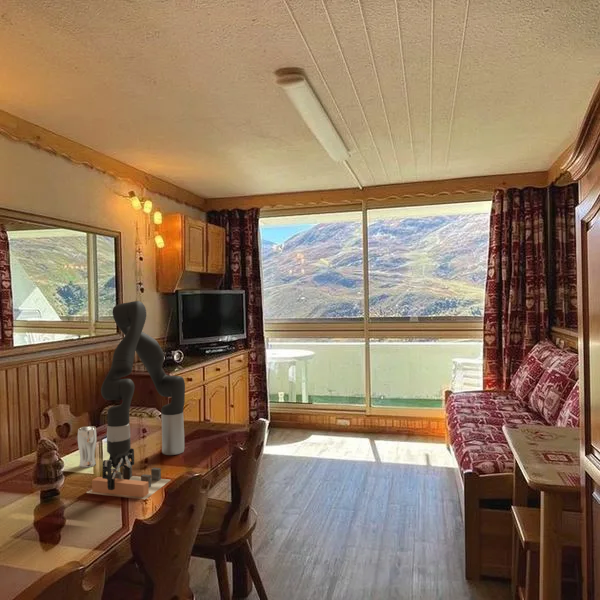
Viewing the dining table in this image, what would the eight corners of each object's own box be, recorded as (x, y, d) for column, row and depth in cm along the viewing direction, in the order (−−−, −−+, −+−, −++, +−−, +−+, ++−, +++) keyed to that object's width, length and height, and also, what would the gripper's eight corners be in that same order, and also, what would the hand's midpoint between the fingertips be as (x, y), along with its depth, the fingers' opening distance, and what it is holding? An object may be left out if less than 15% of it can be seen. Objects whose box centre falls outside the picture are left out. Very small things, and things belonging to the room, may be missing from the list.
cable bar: (97, 488, 165) (97, 476, 165) (148, 493, 160) (148, 481, 160) (92, 491, 162) (91, 480, 162) (143, 497, 157) (143, 485, 157)
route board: (116, 477, 178) (115, 463, 177) (171, 483, 172) (171, 468, 172) (85, 496, 161) (85, 481, 161) (145, 502, 156) (145, 487, 156)
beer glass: (76, 469, 187) (75, 431, 186) (79, 463, 193) (79, 426, 193) (95, 467, 188) (94, 430, 188) (98, 461, 195) (97, 425, 195)
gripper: (121, 430, 169) (122, 475, 169) (95, 442, 155) (95, 491, 155) (140, 432, 167) (141, 477, 167) (115, 444, 153) (115, 494, 153)
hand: (119, 484), depth 161 cm, fingers open, 8 cm apart
